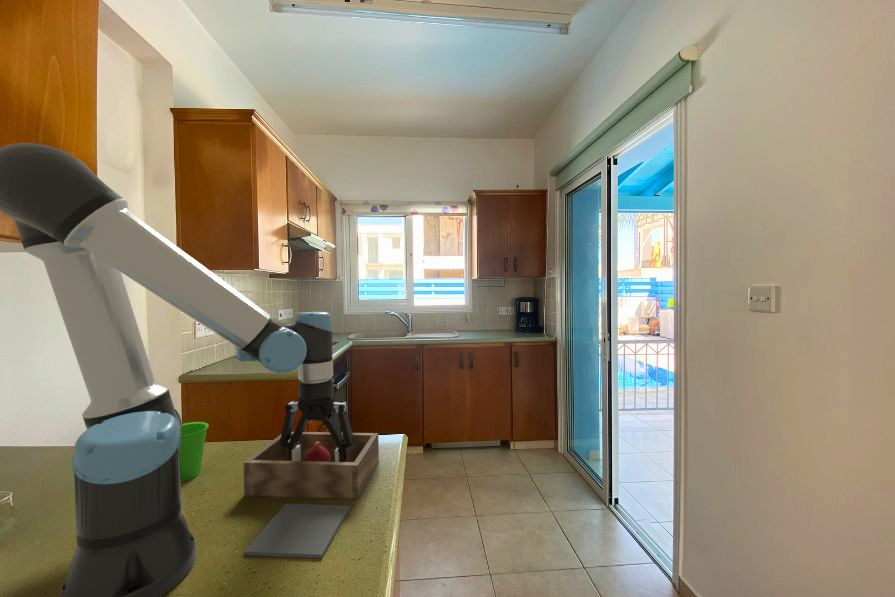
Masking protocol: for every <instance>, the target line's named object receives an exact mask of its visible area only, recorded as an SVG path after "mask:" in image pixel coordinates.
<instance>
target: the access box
mask: <svg viewBox="0 0 895 597" xmlns="http://www.w3.org/2000/svg"><path fill="white" fill-rule="evenodd" d="M293 433H294V431H292V432H291V437H292V435H293ZM352 433H353V437H354V443H353V444H352V445H351V447H349V448H348V447H347V448H346V461H345V462H335V450H336V449H337V448H338V447H337V445H336V443H335V442H334V440H333V438H332V436H331V434H330V432H329V431H328V432H327V431H326V432H321V431H317V432H316V431H303V433H302V435H301V437H300V439H299V441H298V443H297V444H296V446H297V445H301V461H289V460H288V458H289V457H288V448H287V447H285V446H280V444H279V443H280V439H281V434H279V435H278V436H277V437H275V438H274V439H272V441H271V442H269V443H268V444H266V445H265V446H263V447H262V448H261V449H259V450H258V451H257V452H255V453H254V454H253V455H252V456H250V457H249V458H248V459H247V460H245V461H244V462H243V492H244V494H243V495H244V496H248V497H250V496H251V497H279V498H280V497H281V498H283V497H284V498H309V499H313V498H314V499H315V498H317V499H347V500H349V499H351V500H359V498H360V497H361V495H362V493H363V491H364V489H365V488H366V485H367V484H368V482H369V480H370V478H371V477H372V475H373V472H374V470H375V469H376V466H377V465H378V463H379V460H380V457H379V454H380V452H379V451H380V450H379V448H380V447H379V433H378V432H375V433H374V432H371V433H370V432H352ZM342 434H343V433H342ZM291 437H290V439H291ZM316 442H320V443H321V444H320V445H321V446H323V447H325V448H326V449H327V450H328V451H329V453H330V459H331V461H330V462H315V461H304V459H305V456H306V454H307V452H308V451H309V450H310V449H311V448H312V447H314V445H315V443H316Z"/></svg>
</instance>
